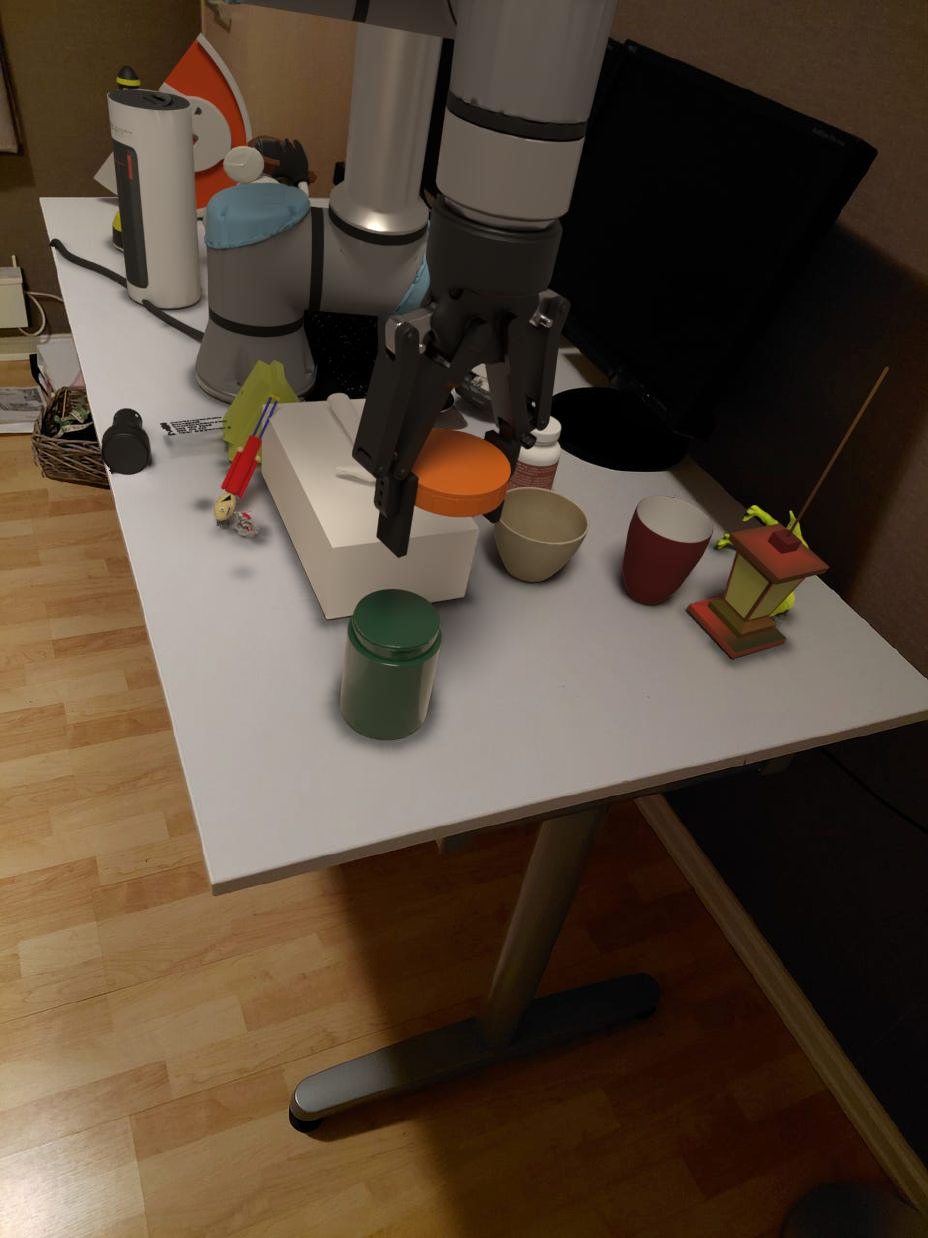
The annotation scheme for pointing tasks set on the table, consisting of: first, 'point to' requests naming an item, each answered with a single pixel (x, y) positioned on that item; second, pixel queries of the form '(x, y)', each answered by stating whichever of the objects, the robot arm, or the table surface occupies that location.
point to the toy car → (476, 388)
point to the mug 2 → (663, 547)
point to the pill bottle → (539, 459)
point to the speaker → (156, 195)
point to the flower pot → (538, 532)
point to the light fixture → (762, 580)
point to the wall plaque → (204, 119)
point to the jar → (389, 663)
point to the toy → (250, 164)
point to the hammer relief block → (352, 512)
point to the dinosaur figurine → (768, 521)
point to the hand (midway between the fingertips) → (439, 528)
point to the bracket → (255, 404)
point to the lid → (460, 474)
